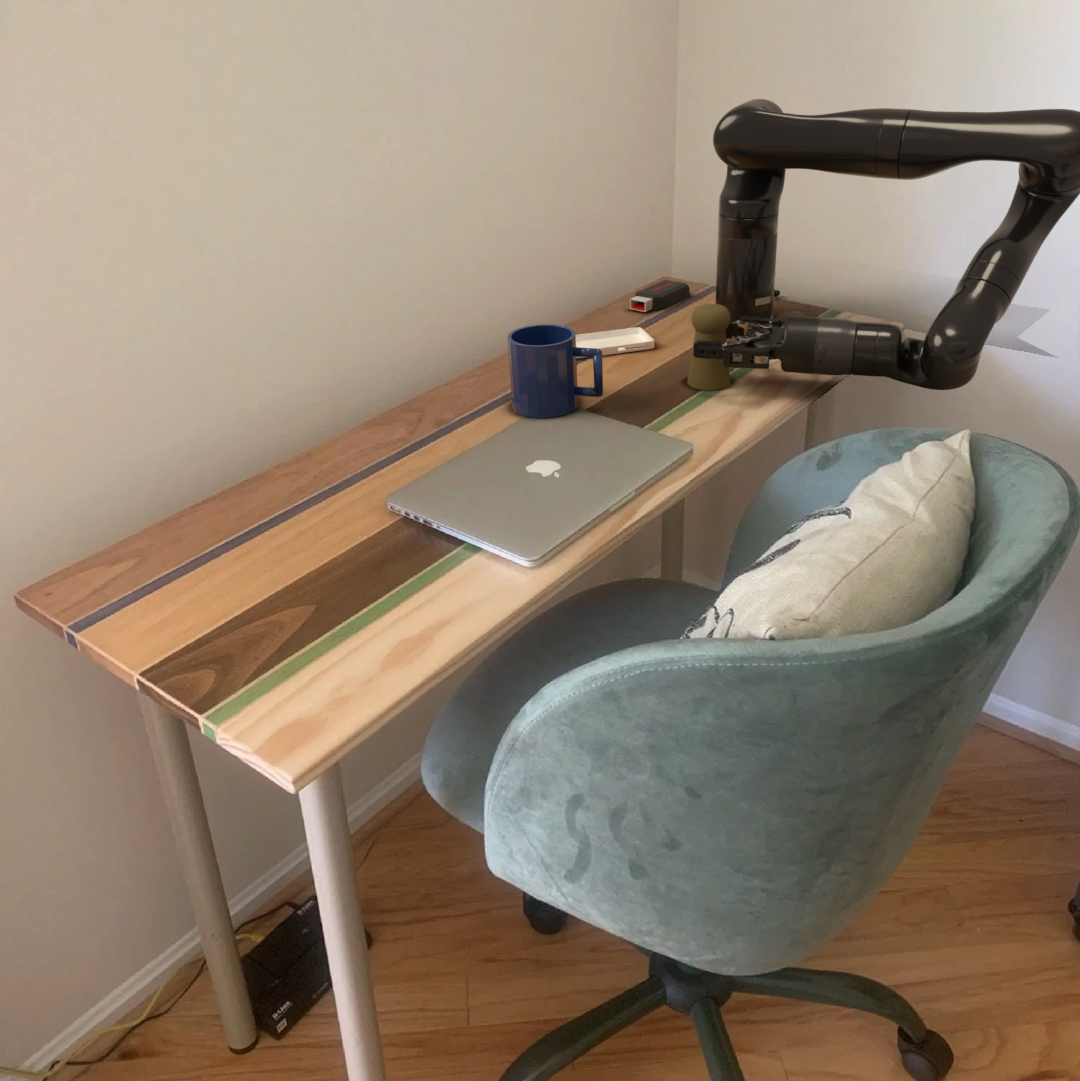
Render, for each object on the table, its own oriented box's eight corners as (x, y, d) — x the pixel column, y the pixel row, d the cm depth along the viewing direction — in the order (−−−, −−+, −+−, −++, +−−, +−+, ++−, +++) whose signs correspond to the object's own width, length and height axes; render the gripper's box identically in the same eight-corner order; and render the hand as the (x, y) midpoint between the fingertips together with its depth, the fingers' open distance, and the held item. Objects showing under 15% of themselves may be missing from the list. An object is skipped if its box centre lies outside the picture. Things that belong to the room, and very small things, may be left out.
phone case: (640, 334, 166) (549, 346, 163) (640, 326, 165) (549, 337, 162) (655, 348, 160) (561, 361, 157) (655, 340, 159) (561, 352, 156)
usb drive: (689, 296, 182) (690, 280, 181) (650, 314, 174) (650, 298, 173) (665, 291, 185) (665, 276, 184) (625, 309, 178) (625, 293, 176)
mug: (502, 415, 140) (497, 343, 135) (525, 390, 147) (521, 322, 142) (593, 423, 136) (591, 350, 131) (612, 397, 143) (611, 327, 138)
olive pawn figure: (729, 374, 149) (732, 298, 143) (731, 389, 144) (735, 312, 138) (686, 374, 149) (688, 299, 144) (687, 390, 144) (689, 313, 139)
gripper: (811, 391, 135) (688, 382, 140) (823, 354, 146) (709, 347, 151) (816, 336, 131) (689, 328, 136) (828, 302, 143) (711, 297, 148)
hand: (700, 338), depth 144 cm, fingers open, 8 cm apart
